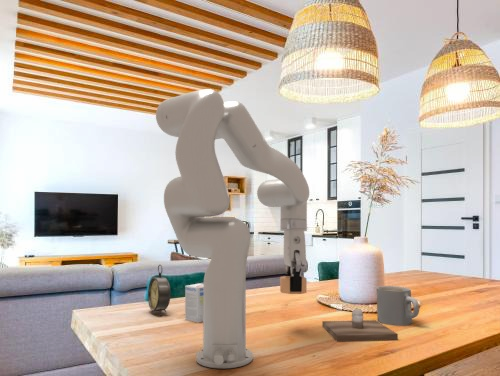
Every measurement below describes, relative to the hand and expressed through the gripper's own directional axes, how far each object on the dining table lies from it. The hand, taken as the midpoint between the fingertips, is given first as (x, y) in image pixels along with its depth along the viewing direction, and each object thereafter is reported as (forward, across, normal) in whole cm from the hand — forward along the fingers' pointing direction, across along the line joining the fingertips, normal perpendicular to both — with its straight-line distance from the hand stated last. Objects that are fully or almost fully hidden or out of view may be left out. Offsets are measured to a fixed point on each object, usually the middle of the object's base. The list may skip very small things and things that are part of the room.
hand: (293, 289), depth 115 cm
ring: (+1, 0, 0) cm, 1 cm away
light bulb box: (+12, +19, +25) cm, 34 cm away
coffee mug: (+11, +8, -34) cm, 36 cm away
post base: (+11, -2, -18) cm, 21 cm away
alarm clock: (+12, +27, +40) cm, 50 cm away
